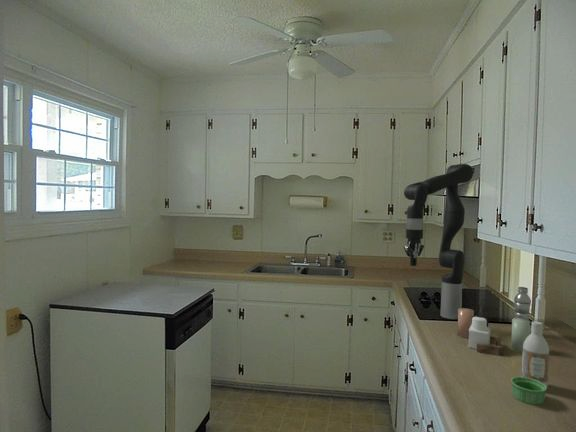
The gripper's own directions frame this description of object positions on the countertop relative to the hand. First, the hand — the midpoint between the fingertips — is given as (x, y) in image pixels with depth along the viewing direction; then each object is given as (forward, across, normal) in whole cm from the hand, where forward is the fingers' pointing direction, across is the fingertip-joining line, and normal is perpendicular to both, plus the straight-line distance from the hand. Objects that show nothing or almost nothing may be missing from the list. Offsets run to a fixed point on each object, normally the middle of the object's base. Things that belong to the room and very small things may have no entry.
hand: (413, 265), depth 181 cm
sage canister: (+27, +9, -43) cm, 52 cm away
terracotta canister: (+27, +5, -23) cm, 36 cm away
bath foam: (+27, -21, -59) cm, 68 cm away
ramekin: (+27, -31, -61) cm, 74 cm away
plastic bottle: (+27, +28, -36) cm, 53 cm away
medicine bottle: (+27, -3, -33) cm, 43 cm away
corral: (+27, -1, -35) cm, 44 cm away
